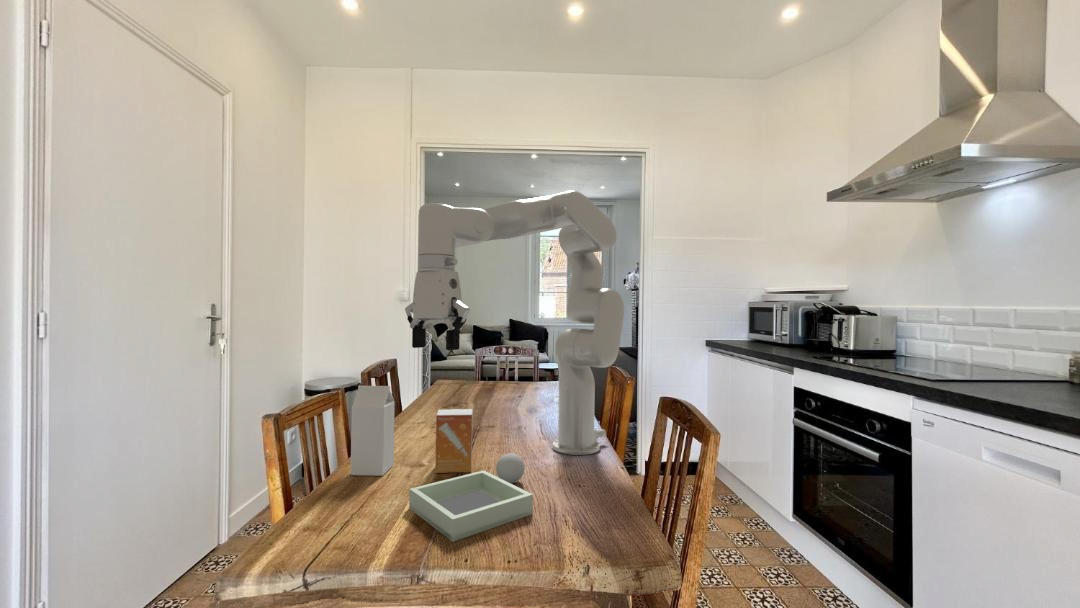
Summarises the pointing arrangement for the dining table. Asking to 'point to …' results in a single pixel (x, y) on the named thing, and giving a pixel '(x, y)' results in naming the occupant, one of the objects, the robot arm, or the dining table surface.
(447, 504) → the felt pad
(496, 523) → the tray
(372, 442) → the milk carton
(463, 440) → the small box
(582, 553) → the dining table surface
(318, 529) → the dining table surface
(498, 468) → the ball
